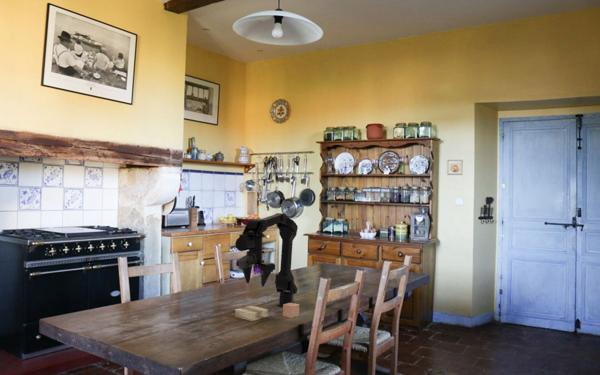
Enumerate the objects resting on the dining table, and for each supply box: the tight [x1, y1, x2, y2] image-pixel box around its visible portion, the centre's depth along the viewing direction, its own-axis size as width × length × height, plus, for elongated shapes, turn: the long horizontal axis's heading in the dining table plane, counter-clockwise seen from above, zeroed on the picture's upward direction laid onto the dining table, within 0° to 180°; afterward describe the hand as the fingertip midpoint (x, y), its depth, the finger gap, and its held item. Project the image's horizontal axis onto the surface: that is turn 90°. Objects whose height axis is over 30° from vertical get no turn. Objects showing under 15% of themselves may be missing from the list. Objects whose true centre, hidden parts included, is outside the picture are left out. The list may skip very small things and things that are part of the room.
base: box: [234, 305, 269, 322], centre depth 206 cm, size 10×10×3 cm
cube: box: [282, 302, 300, 319], centre depth 209 cm, size 5×5×5 cm
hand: (255, 284), depth 207 cm, fingers open, 9 cm apart
